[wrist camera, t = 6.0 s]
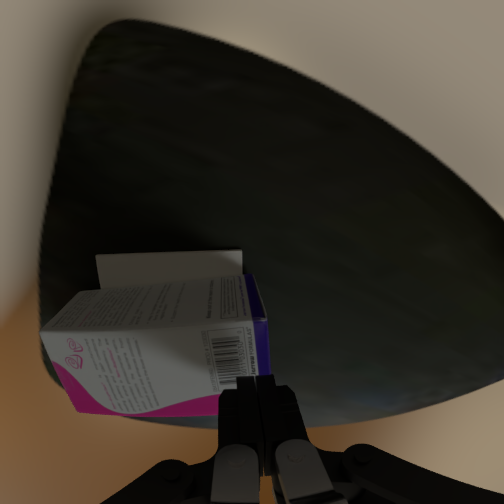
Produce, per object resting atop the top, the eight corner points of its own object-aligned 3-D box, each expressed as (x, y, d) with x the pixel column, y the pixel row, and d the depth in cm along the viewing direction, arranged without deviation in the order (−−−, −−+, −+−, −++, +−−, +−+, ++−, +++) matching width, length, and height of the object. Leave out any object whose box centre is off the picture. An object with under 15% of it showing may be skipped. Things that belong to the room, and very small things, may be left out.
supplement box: (253, 270, 18) (77, 287, 17) (269, 317, 12) (32, 332, 11) (260, 351, 19) (101, 361, 19) (275, 413, 14) (73, 417, 13)
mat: (241, 249, 18) (241, 250, 17) (244, 362, 20) (245, 365, 19) (97, 254, 17) (95, 255, 17) (119, 361, 19) (118, 364, 19)
